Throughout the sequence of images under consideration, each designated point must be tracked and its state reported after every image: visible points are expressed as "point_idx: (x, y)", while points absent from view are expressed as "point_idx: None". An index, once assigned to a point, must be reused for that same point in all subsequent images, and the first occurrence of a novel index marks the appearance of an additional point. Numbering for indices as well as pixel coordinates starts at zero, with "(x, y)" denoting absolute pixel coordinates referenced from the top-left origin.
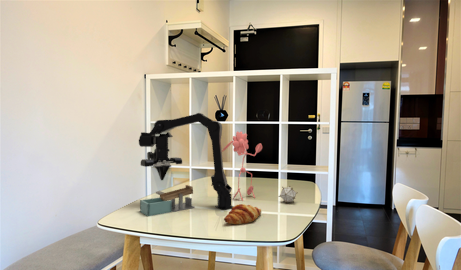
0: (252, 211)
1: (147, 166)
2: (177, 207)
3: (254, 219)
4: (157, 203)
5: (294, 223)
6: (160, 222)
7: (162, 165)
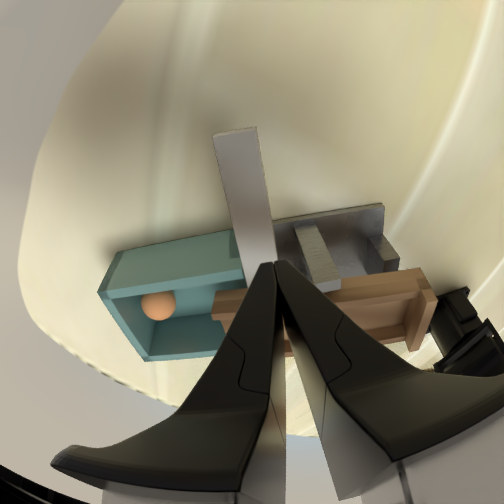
0: None
1: (68, 496)
2: (305, 275)
3: None
4: (187, 356)
5: None
6: (192, 373)
7: (356, 477)
